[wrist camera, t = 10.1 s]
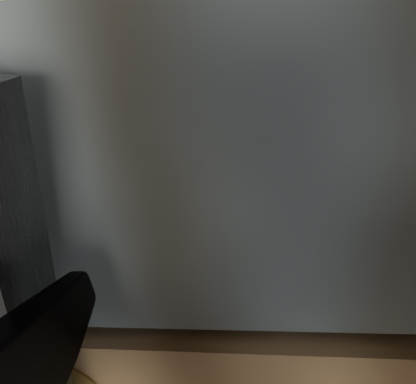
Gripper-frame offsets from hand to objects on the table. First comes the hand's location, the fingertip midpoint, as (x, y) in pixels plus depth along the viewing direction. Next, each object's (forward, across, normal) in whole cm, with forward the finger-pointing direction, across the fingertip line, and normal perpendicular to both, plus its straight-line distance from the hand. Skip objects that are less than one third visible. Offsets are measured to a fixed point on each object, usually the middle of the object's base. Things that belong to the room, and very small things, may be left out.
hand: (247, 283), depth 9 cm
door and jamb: (+4, +2, +1) cm, 4 cm away
